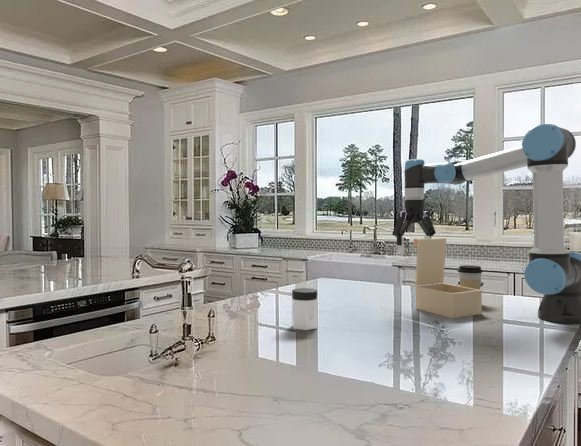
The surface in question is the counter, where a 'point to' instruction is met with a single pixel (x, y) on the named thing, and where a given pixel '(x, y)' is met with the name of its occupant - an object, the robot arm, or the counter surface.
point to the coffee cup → (470, 276)
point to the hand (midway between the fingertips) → (414, 253)
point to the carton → (449, 300)
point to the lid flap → (430, 260)
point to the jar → (304, 309)
